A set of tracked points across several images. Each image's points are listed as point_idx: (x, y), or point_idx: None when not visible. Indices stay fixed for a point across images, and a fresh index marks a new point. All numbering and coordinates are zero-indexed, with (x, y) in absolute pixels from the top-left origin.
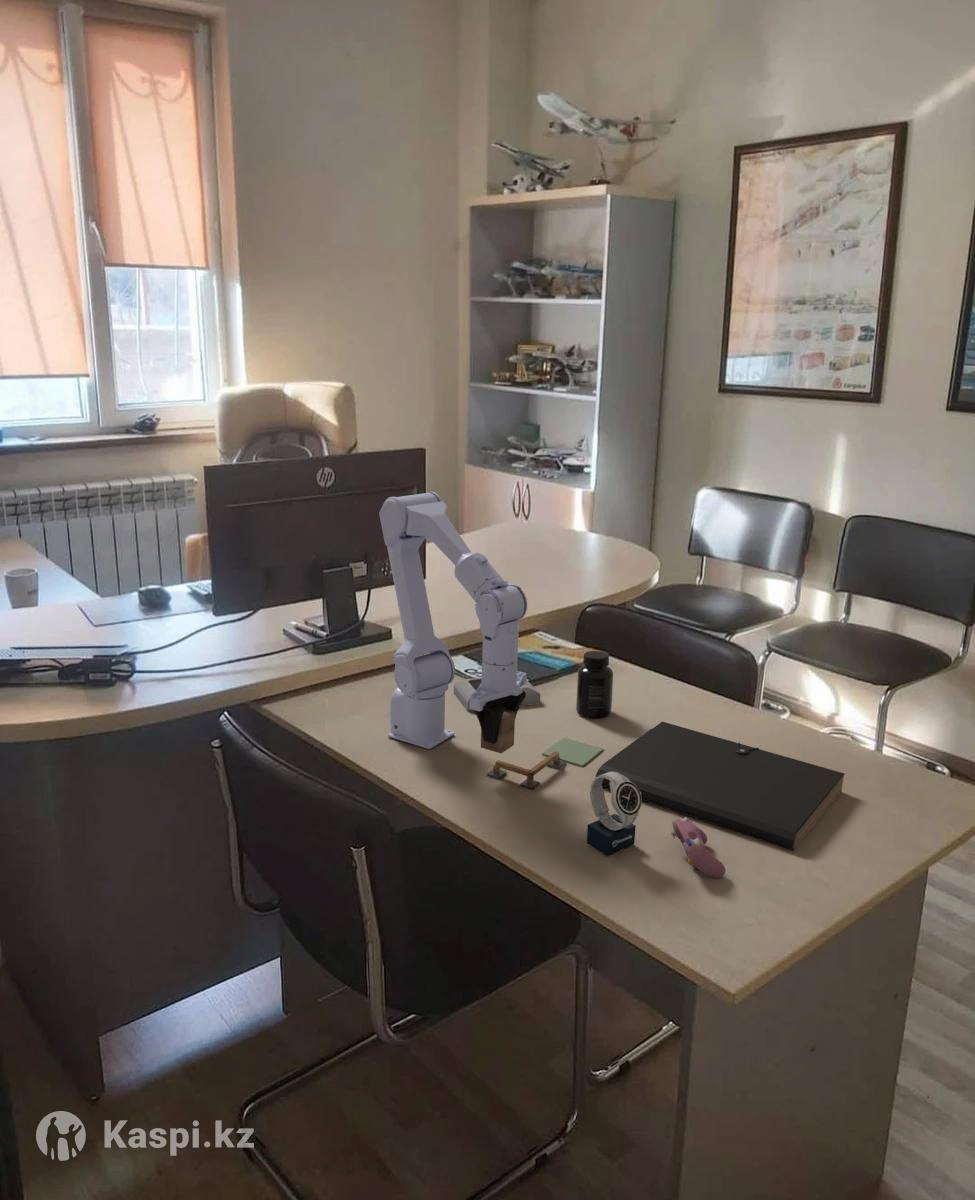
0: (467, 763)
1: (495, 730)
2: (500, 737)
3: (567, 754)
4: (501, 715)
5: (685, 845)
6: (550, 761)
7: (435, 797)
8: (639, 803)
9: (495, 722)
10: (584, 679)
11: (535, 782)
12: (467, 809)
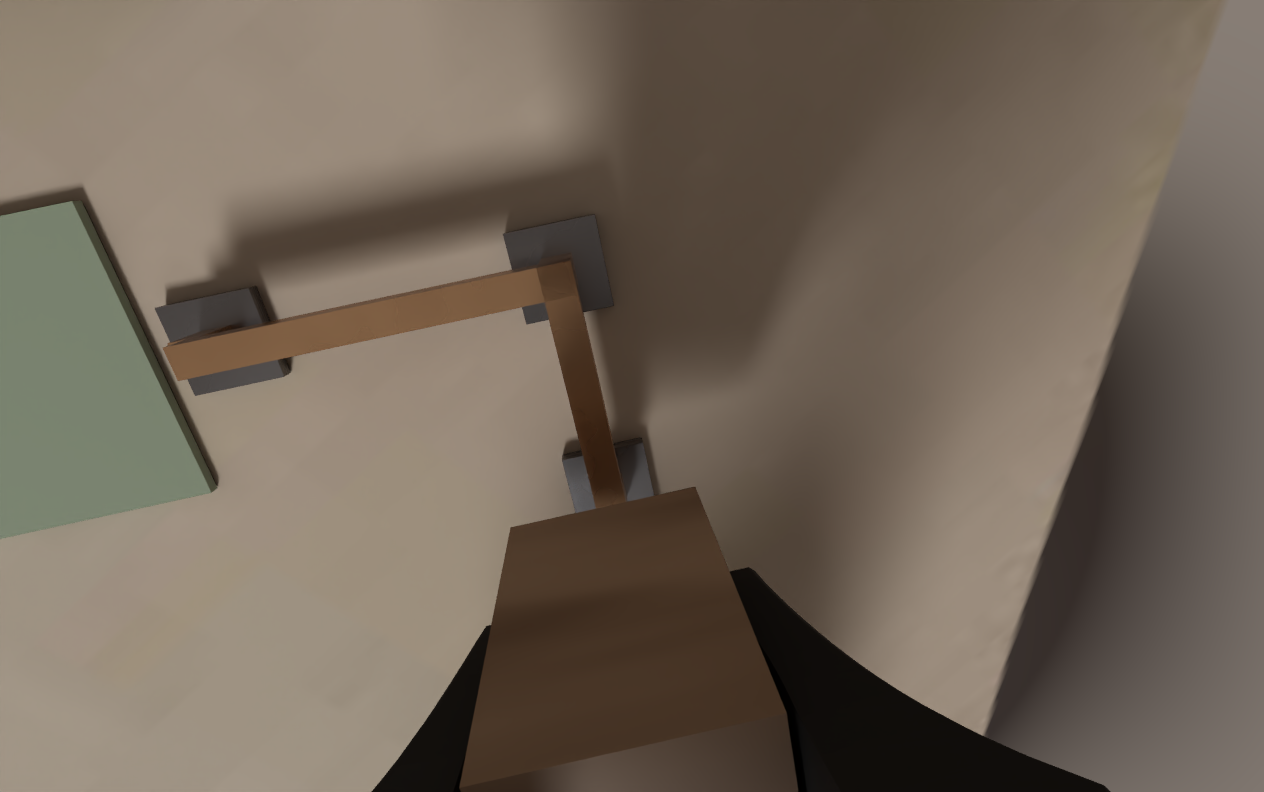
0: None
1: (824, 638)
2: (729, 573)
3: (66, 380)
4: (865, 766)
5: None
6: (302, 316)
7: (999, 502)
8: None
9: (920, 703)
10: None
11: (527, 252)
12: (1008, 313)
